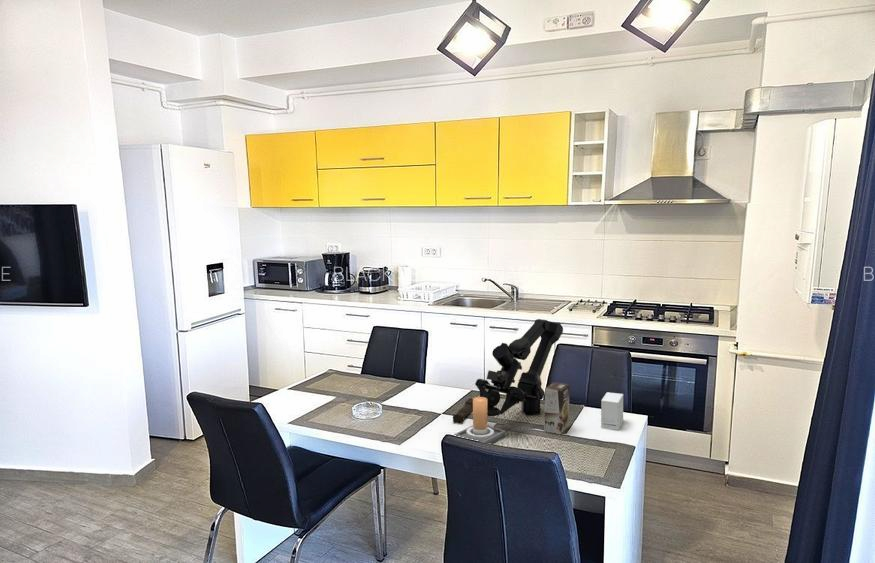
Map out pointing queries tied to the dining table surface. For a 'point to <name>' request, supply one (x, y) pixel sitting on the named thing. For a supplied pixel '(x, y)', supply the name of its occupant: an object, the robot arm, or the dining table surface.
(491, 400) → the webcam
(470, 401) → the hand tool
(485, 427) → the peach bulb knob
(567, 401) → the coffee box
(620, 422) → the skincare box
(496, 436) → the housing
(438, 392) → the dining table surface
